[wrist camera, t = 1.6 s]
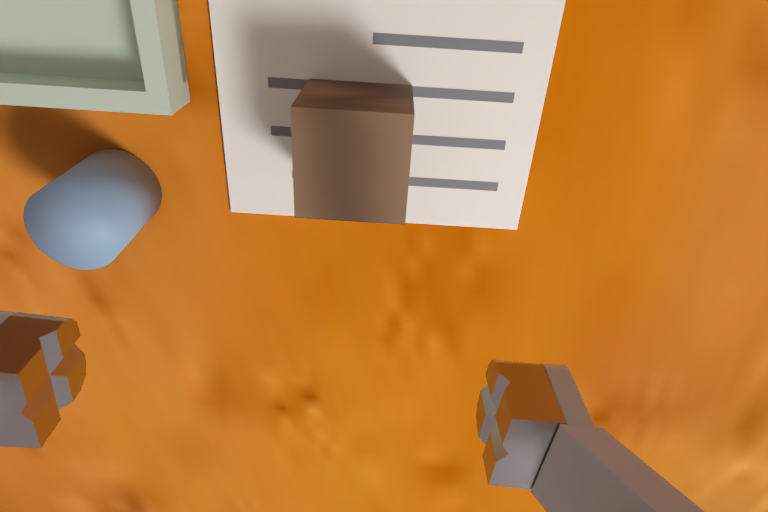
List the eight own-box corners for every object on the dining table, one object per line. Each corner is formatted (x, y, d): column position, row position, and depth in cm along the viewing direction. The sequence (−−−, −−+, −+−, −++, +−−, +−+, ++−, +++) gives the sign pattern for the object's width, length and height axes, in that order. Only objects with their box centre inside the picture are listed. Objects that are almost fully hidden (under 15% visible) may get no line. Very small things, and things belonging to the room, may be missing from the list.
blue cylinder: (154, 151, 28) (109, 190, 23) (167, 224, 30) (128, 272, 26) (71, 146, 28) (10, 183, 23) (90, 220, 30) (39, 266, 26)
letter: (566, -11, 23) (567, -11, 23) (516, 228, 29) (517, 229, 29) (205, -34, 23) (204, -34, 23) (231, 210, 29) (230, 212, 29)
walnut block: (412, 85, 25) (414, 114, 21) (404, 181, 28) (405, 224, 24) (309, 78, 25) (290, 106, 21) (310, 175, 28) (294, 217, 24)
